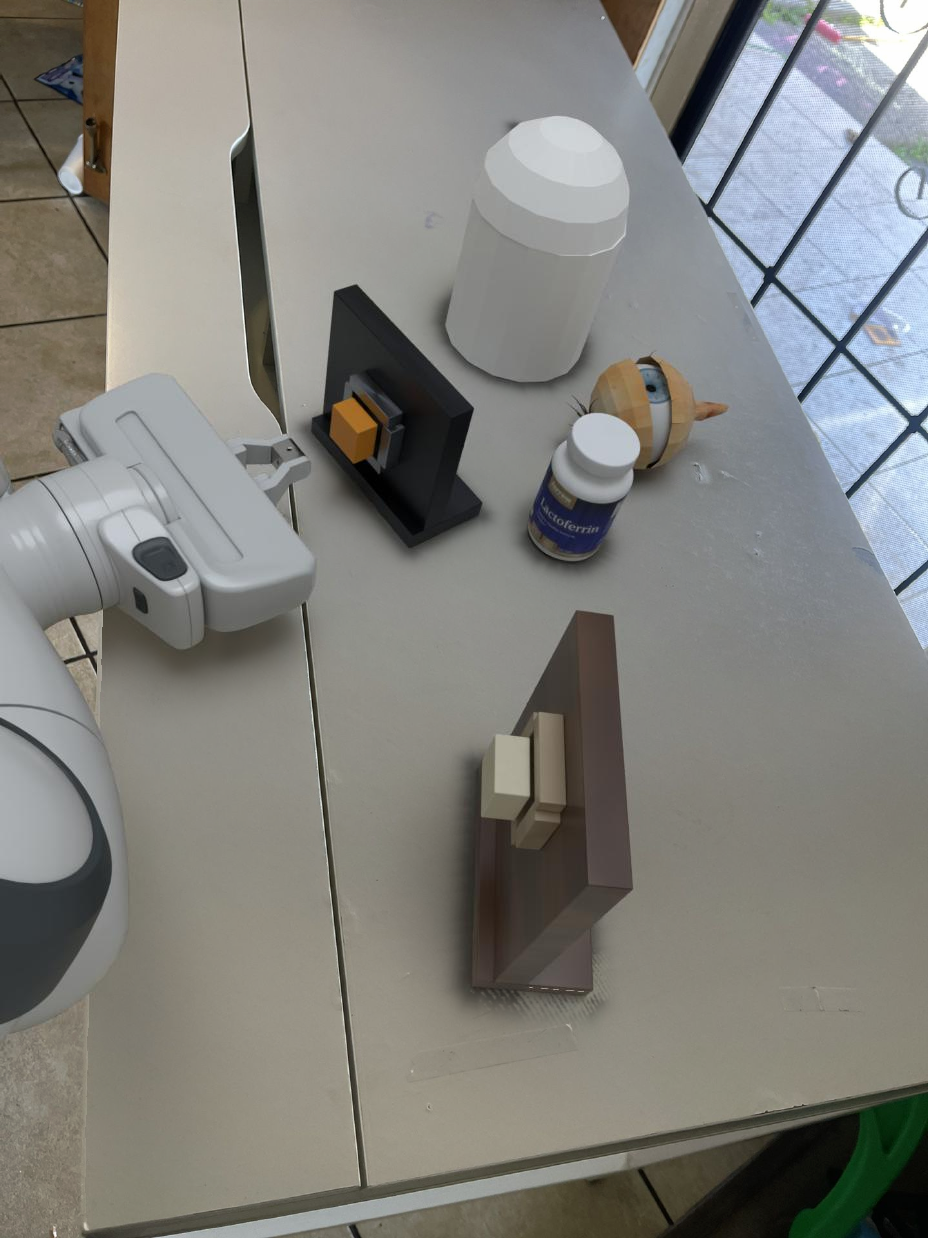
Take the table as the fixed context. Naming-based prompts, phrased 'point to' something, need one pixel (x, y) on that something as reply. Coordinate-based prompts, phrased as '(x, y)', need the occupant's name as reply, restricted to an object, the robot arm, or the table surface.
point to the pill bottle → (584, 487)
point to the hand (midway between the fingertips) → (299, 453)
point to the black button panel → (397, 421)
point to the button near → (505, 777)
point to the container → (538, 249)
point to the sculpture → (651, 406)
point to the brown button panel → (557, 827)
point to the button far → (353, 430)
